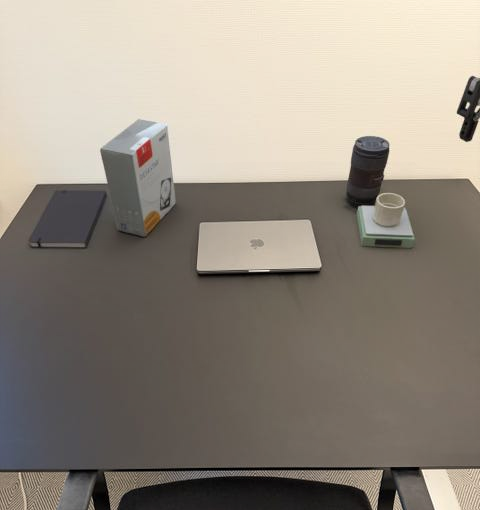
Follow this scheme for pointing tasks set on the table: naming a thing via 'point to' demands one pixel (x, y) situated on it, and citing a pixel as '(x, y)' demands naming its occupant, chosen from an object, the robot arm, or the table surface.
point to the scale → (384, 230)
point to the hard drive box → (139, 176)
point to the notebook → (68, 219)
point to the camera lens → (367, 170)
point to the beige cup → (388, 209)
